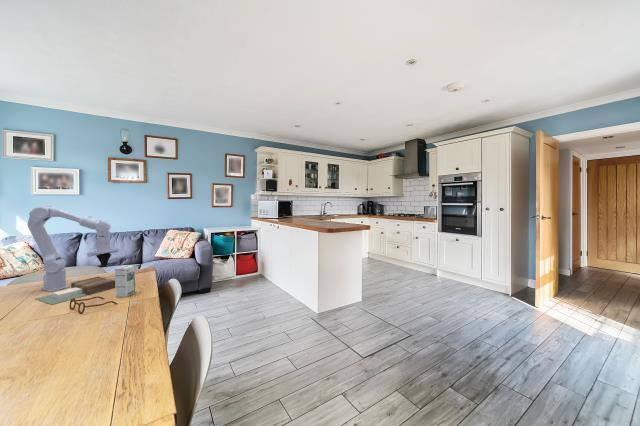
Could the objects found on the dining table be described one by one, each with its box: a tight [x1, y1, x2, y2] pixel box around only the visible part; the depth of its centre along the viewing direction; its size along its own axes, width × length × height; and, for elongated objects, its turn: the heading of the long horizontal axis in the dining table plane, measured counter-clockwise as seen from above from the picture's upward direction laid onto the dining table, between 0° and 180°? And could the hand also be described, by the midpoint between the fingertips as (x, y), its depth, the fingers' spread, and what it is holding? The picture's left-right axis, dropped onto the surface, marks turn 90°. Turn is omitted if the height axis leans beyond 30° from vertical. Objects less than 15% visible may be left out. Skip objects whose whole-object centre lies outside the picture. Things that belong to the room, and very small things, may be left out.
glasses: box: [69, 295, 119, 315], centre depth 116 cm, size 13×13×5 cm
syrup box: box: [114, 264, 136, 298], centre depth 129 cm, size 6×6×14 cm
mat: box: [34, 293, 88, 306], centre depth 125 cm, size 16×13×1 cm
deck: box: [70, 276, 116, 296], centre depth 137 cm, size 16×12×4 cm
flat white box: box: [52, 287, 83, 299], centre depth 128 cm, size 6×9×2 cm, turn 157°
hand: (104, 266), depth 147 cm, fingers closed
